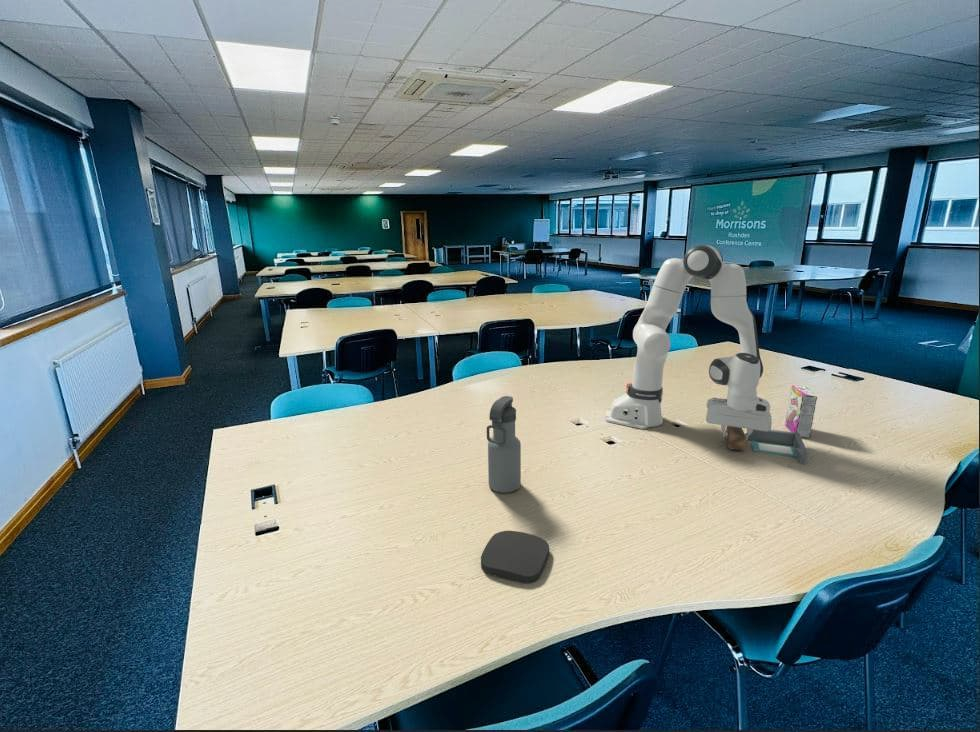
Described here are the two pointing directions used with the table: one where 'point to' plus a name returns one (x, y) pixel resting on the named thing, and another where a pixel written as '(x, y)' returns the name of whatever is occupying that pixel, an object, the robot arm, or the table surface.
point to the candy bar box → (801, 410)
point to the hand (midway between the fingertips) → (735, 438)
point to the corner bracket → (779, 437)
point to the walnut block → (735, 438)
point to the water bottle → (503, 448)
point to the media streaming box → (515, 556)
